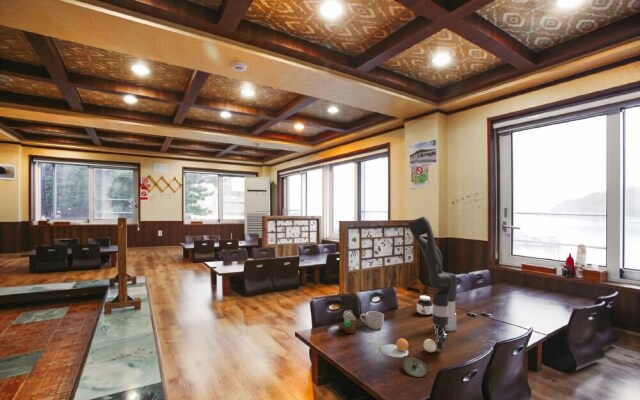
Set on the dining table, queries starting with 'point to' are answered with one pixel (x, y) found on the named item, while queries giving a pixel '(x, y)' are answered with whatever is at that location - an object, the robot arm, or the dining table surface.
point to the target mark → (393, 351)
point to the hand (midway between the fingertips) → (439, 348)
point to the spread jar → (424, 306)
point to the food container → (349, 321)
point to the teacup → (373, 319)
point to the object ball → (402, 344)
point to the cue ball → (429, 345)
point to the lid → (414, 367)
